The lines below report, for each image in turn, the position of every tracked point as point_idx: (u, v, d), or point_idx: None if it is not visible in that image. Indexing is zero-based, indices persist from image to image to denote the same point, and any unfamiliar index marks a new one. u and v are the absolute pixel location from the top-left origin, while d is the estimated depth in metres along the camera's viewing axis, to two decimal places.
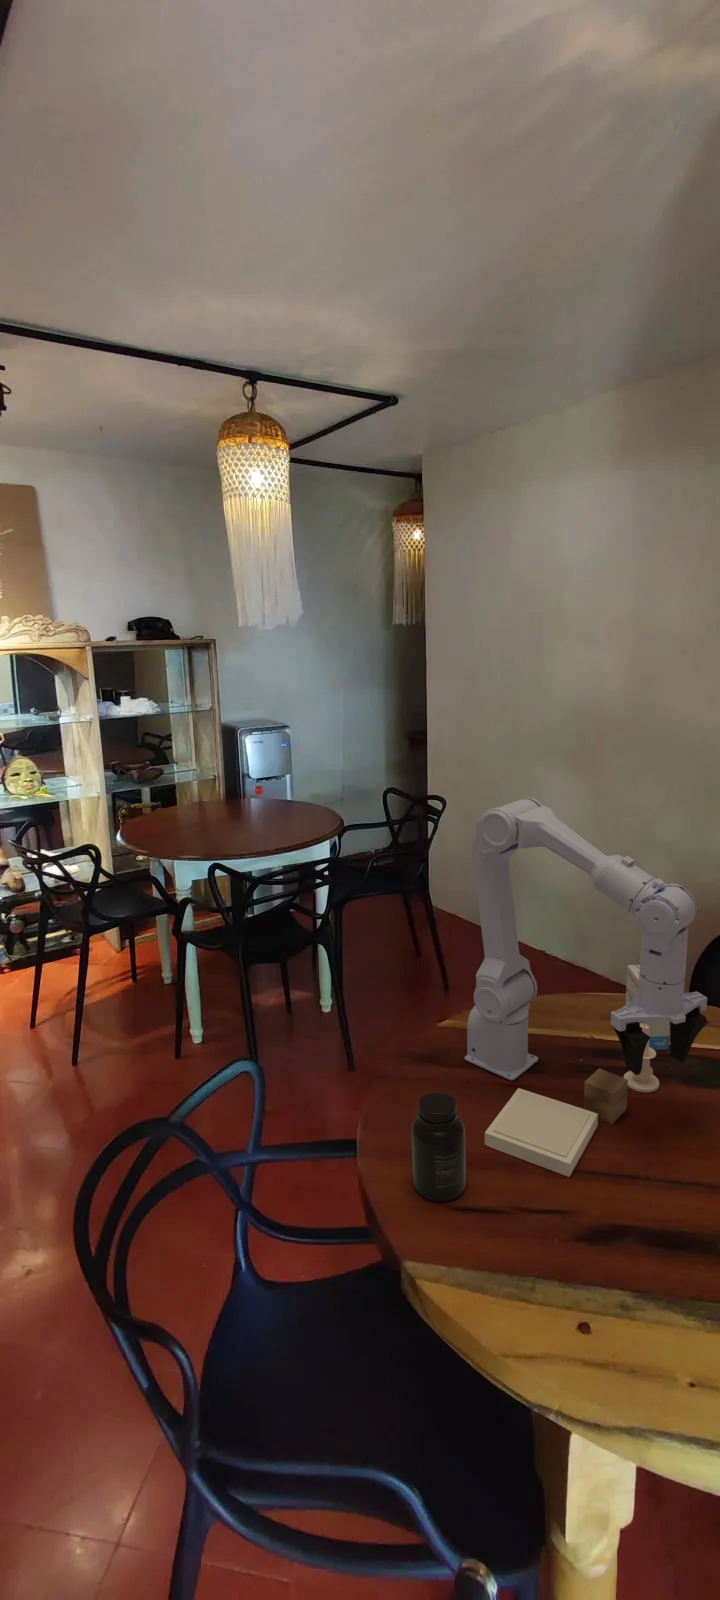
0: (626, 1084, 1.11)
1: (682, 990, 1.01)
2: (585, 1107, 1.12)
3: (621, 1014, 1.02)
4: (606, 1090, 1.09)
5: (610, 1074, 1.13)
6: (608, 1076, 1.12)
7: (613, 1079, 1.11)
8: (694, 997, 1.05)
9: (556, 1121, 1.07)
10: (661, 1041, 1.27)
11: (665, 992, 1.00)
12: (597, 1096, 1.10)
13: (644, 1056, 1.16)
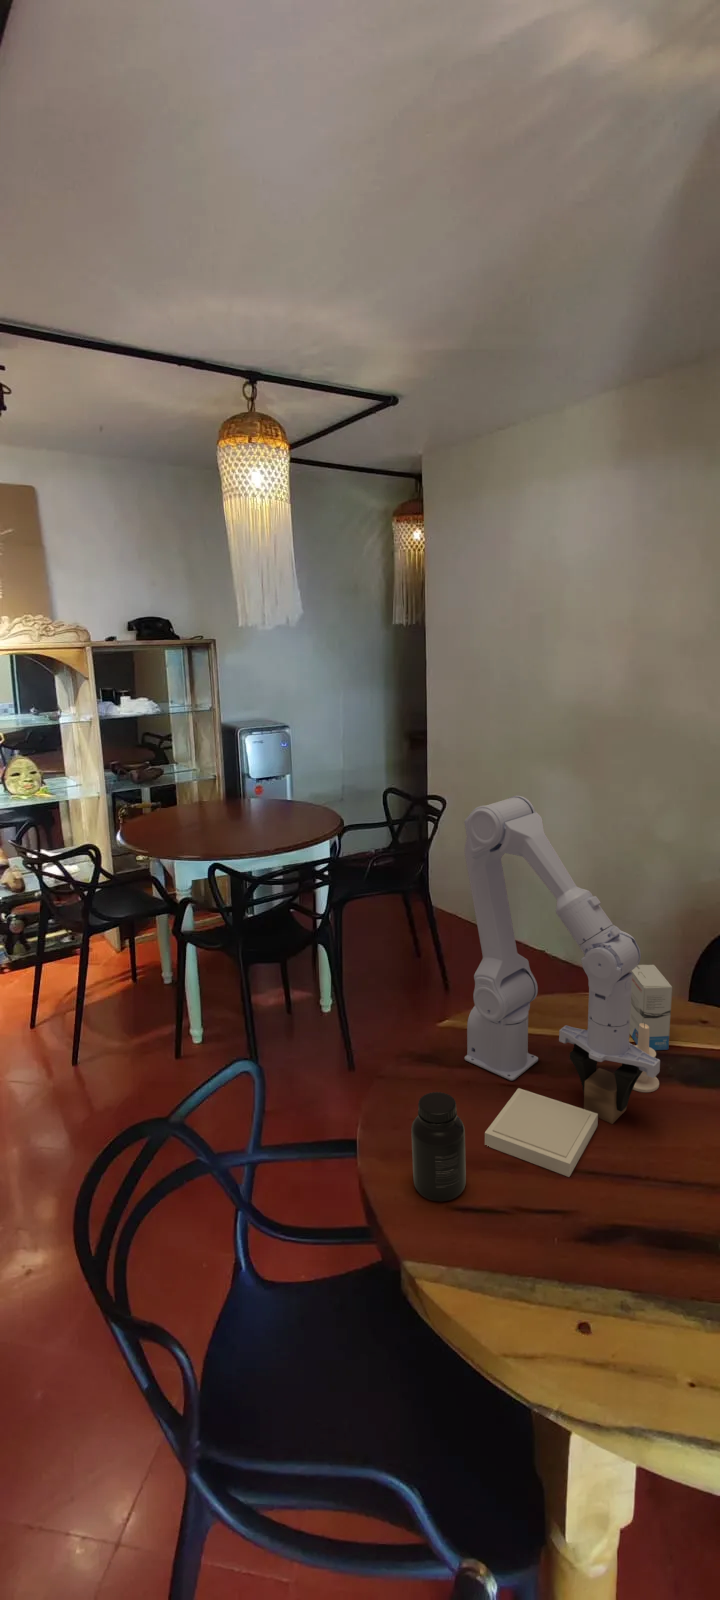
0: None
1: (608, 1035, 1.06)
2: (585, 1106, 1.12)
3: (567, 1029, 1.14)
4: (606, 1089, 1.09)
5: (610, 1073, 1.13)
6: (608, 1075, 1.12)
7: (613, 1079, 1.11)
8: (646, 1059, 1.06)
9: (556, 1121, 1.07)
10: (661, 1041, 1.27)
11: (591, 1026, 1.08)
12: (597, 1096, 1.10)
13: None
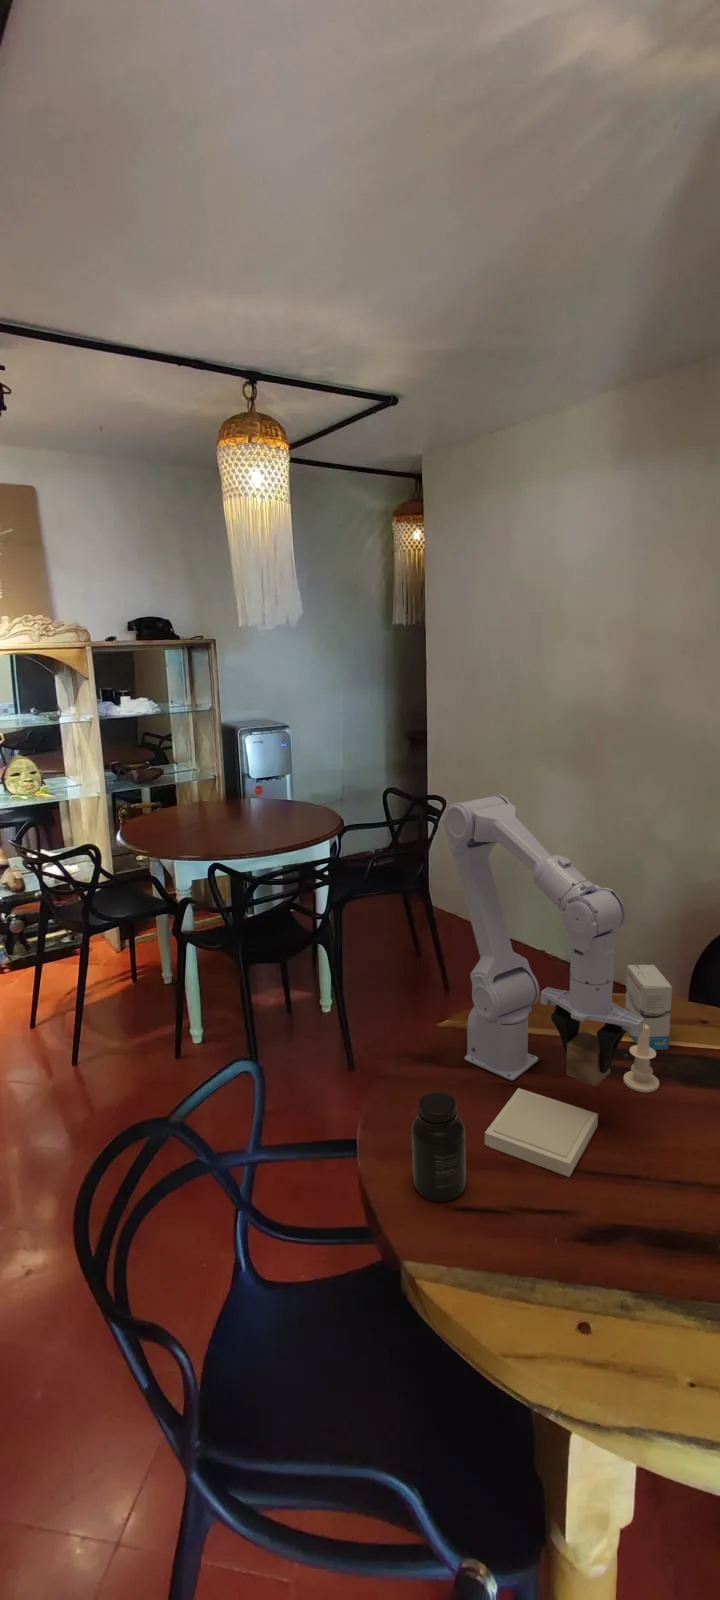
0: None
1: (591, 993, 1.03)
2: (568, 1070, 1.09)
3: (549, 991, 1.11)
4: (589, 1051, 1.06)
5: (593, 1036, 1.09)
6: (591, 1037, 1.09)
7: (596, 1041, 1.08)
8: (629, 1018, 1.03)
9: (556, 1121, 1.07)
10: (661, 1041, 1.27)
11: (573, 986, 1.05)
12: (580, 1058, 1.07)
13: (644, 1056, 1.16)
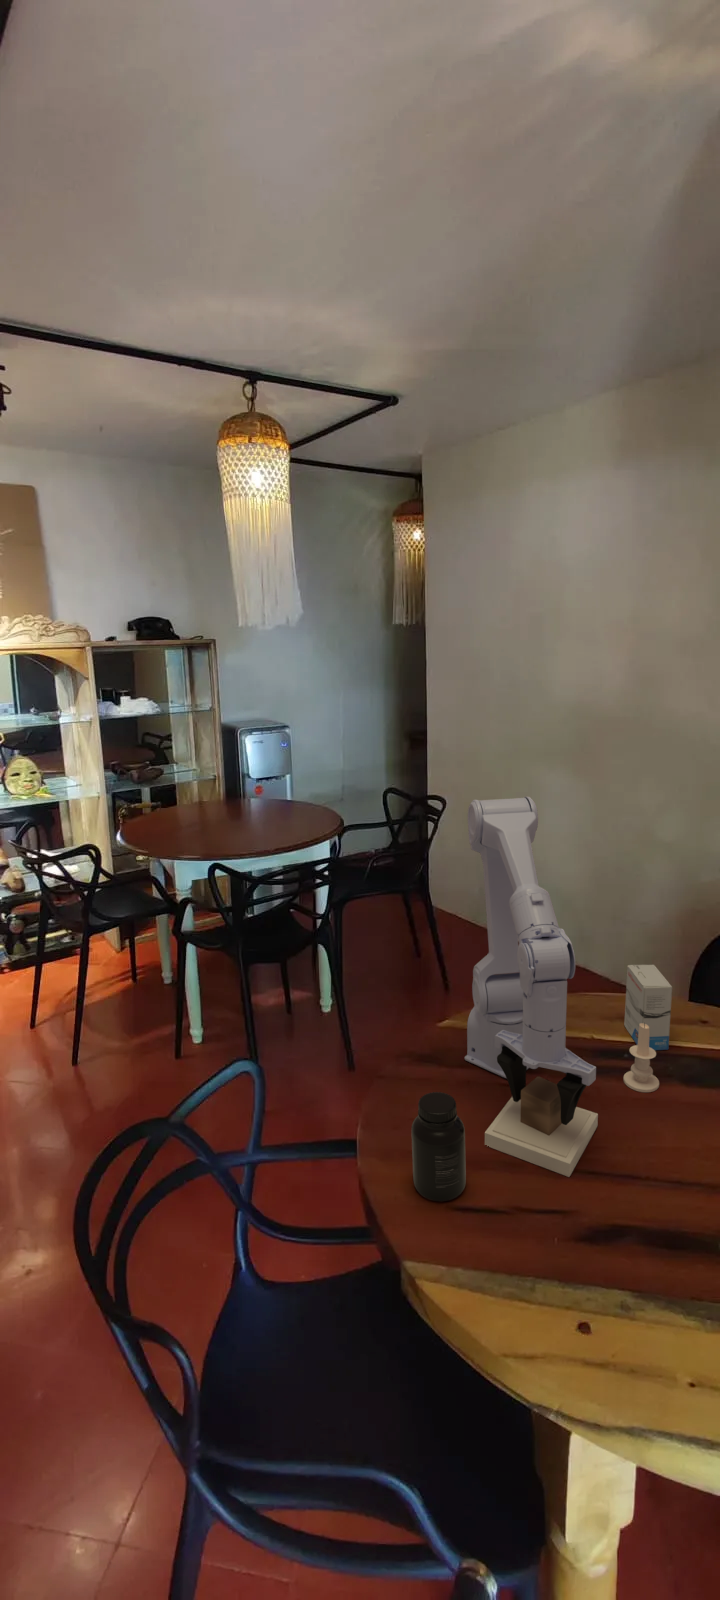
0: None
1: (542, 1040, 1.01)
2: (522, 1117, 1.06)
3: (503, 1034, 1.09)
4: (542, 1099, 1.04)
5: (548, 1082, 1.07)
6: (546, 1084, 1.07)
7: (551, 1088, 1.06)
8: (582, 1066, 1.00)
9: None
10: (661, 1041, 1.27)
11: (525, 1031, 1.03)
12: (534, 1106, 1.05)
13: (644, 1056, 1.16)
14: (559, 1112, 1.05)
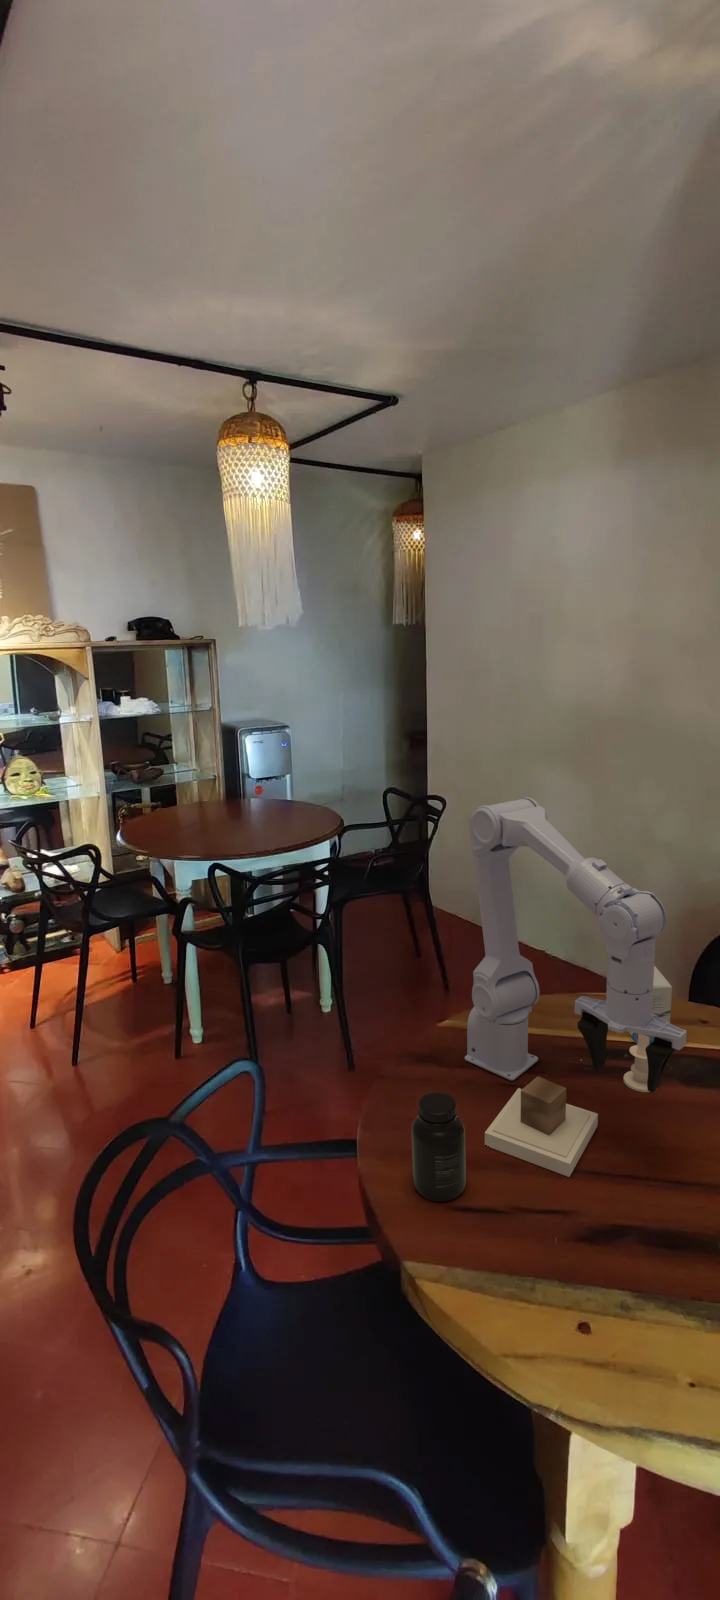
0: (565, 1093, 1.06)
1: (629, 1003, 0.97)
2: (522, 1117, 1.06)
3: (583, 1000, 1.05)
4: (542, 1099, 1.04)
5: (548, 1082, 1.07)
6: (546, 1084, 1.07)
7: (551, 1088, 1.06)
8: (671, 1030, 0.96)
9: None
10: None
11: (610, 995, 0.99)
12: (534, 1106, 1.05)
13: (644, 1056, 1.16)
14: (559, 1112, 1.05)
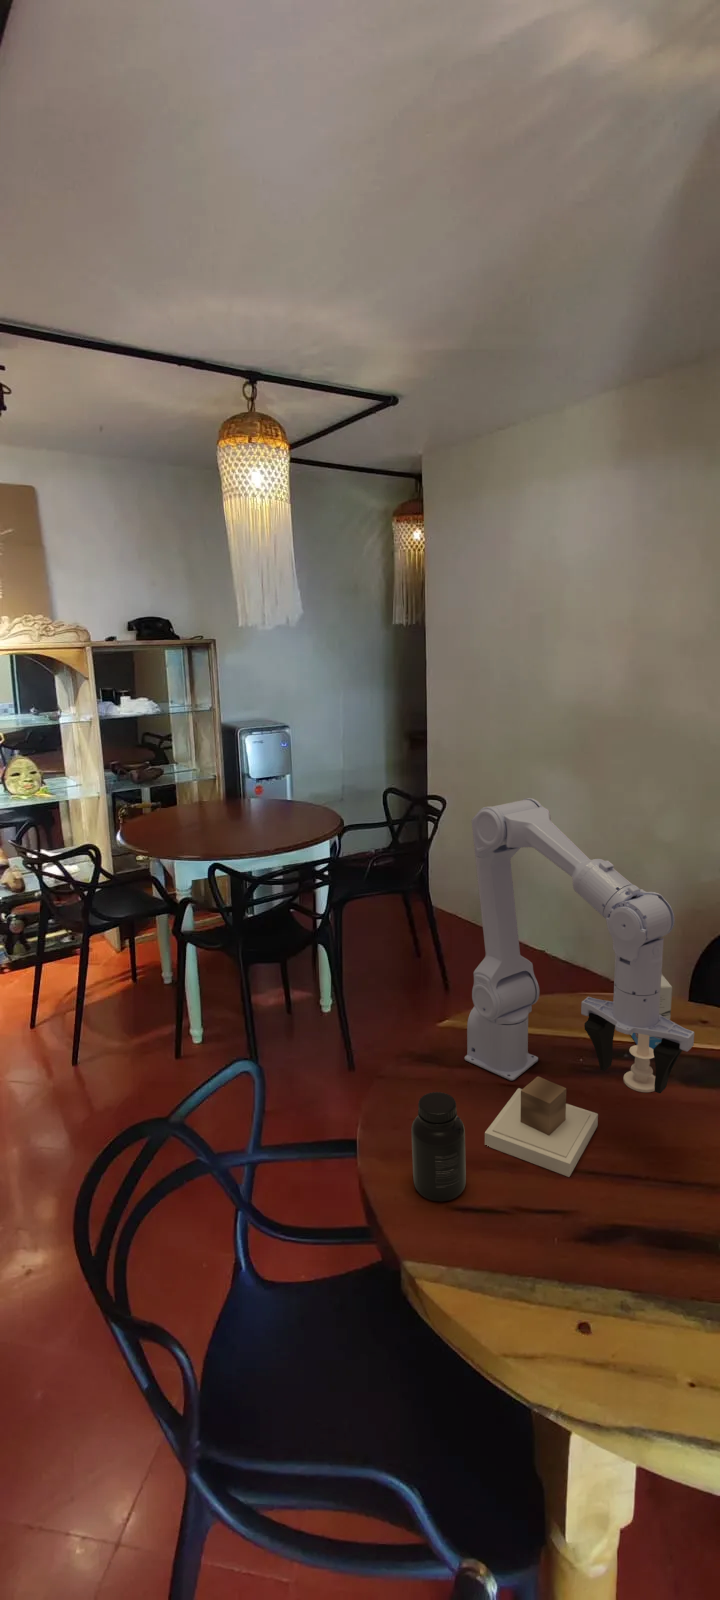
0: (565, 1093, 1.06)
1: (637, 1005, 0.97)
2: (522, 1117, 1.06)
3: (590, 1001, 1.04)
4: (542, 1099, 1.04)
5: (548, 1082, 1.07)
6: (546, 1084, 1.07)
7: (551, 1088, 1.06)
8: (679, 1032, 0.96)
9: None
10: None
11: (617, 996, 0.99)
12: (534, 1106, 1.05)
13: (644, 1056, 1.16)
14: (559, 1112, 1.05)
